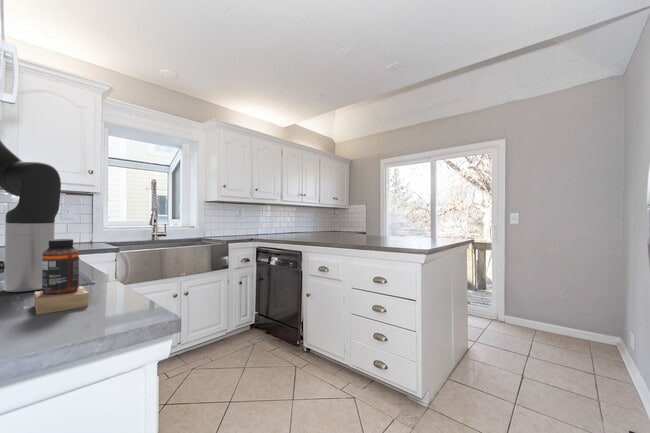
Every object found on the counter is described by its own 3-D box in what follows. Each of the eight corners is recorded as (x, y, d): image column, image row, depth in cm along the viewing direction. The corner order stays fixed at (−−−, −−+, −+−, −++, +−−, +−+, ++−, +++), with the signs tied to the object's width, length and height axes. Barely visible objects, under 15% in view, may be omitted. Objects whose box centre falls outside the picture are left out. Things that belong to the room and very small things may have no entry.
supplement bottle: (77, 286, 68) (78, 237, 68) (80, 292, 64) (81, 239, 64) (41, 291, 64) (42, 238, 64) (41, 297, 60) (42, 241, 60)
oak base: (34, 305, 64) (34, 291, 64) (81, 298, 70) (82, 285, 70) (36, 314, 58) (37, 298, 58) (88, 306, 64) (88, 291, 64)
